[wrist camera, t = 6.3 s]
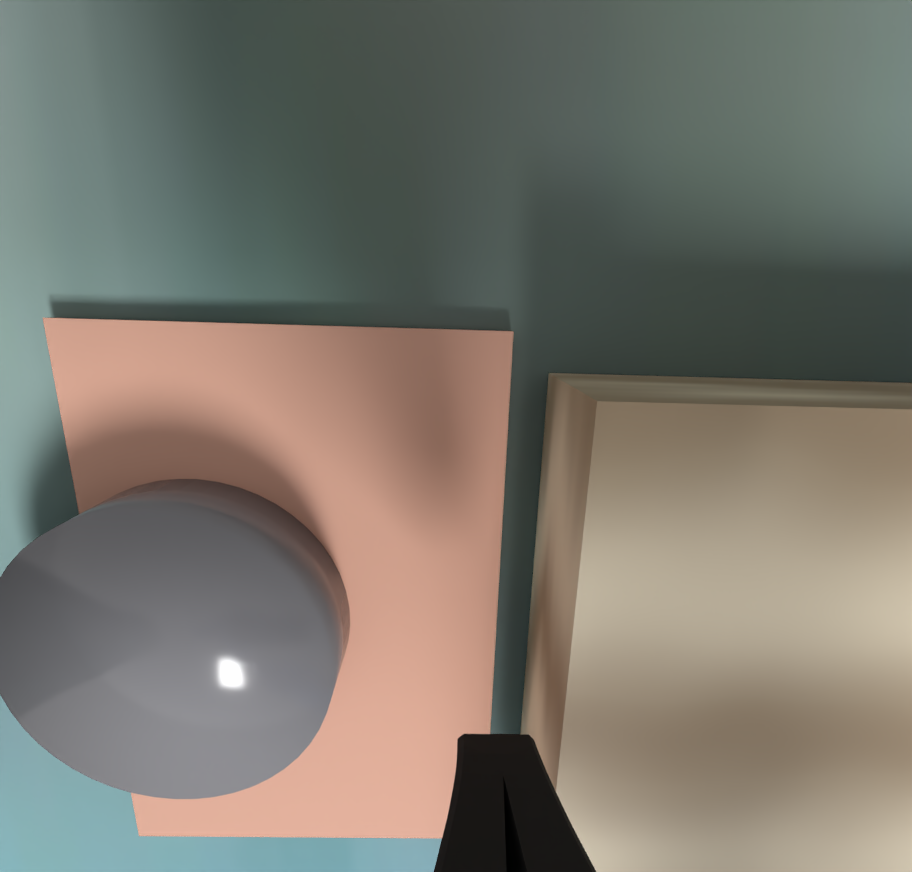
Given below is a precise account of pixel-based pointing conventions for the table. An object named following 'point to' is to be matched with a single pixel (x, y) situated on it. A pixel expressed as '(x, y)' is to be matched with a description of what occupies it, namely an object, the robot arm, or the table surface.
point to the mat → (327, 530)
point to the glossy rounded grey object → (174, 639)
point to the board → (726, 622)
